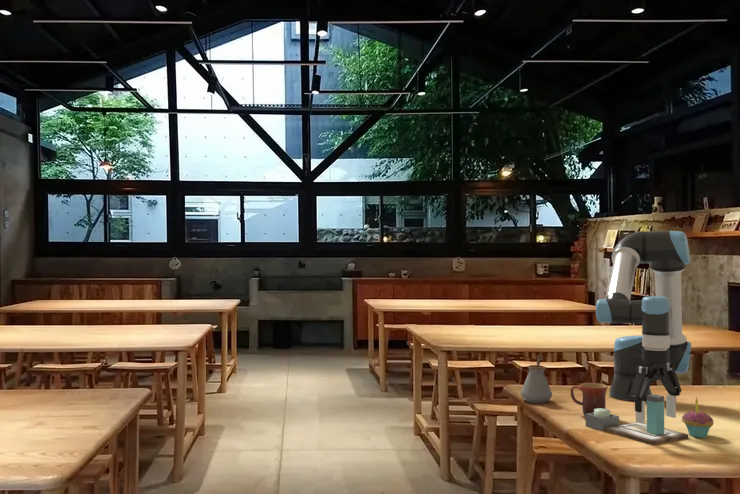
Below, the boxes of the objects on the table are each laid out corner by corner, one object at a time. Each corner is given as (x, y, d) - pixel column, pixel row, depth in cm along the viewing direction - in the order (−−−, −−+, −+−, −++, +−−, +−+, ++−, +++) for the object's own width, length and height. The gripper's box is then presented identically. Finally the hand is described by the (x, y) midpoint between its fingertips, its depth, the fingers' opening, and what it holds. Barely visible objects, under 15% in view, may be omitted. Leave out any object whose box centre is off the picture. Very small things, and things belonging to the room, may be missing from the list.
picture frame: (640, 424, 209) (640, 420, 209) (688, 437, 194) (688, 433, 194) (604, 431, 201) (604, 426, 201) (651, 445, 186) (651, 440, 186)
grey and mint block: (654, 430, 197) (654, 394, 197) (664, 433, 194) (664, 396, 194) (646, 432, 195) (646, 395, 195) (656, 435, 192) (656, 397, 192)
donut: (712, 441, 191) (711, 399, 191) (680, 436, 195) (680, 396, 195) (714, 434, 198) (714, 394, 198) (683, 430, 202) (683, 391, 203)
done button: (601, 418, 209) (601, 407, 209) (613, 422, 205) (613, 410, 205) (590, 420, 207) (590, 409, 207) (602, 423, 203) (602, 412, 203)
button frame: (601, 423, 211) (601, 411, 211) (618, 428, 204) (618, 416, 204) (585, 425, 207) (585, 413, 207) (603, 431, 201) (603, 418, 201)
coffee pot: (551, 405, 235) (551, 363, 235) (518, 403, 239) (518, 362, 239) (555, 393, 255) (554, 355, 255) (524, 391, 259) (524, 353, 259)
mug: (609, 414, 222) (609, 384, 222) (605, 420, 214) (605, 389, 214) (573, 410, 228) (573, 381, 228) (568, 416, 220) (568, 385, 220)
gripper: (672, 343, 204) (672, 411, 204) (616, 350, 192) (616, 422, 192) (693, 347, 197) (694, 417, 197) (637, 353, 185) (637, 428, 185)
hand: (655, 419), depth 195 cm, fingers open, 13 cm apart
